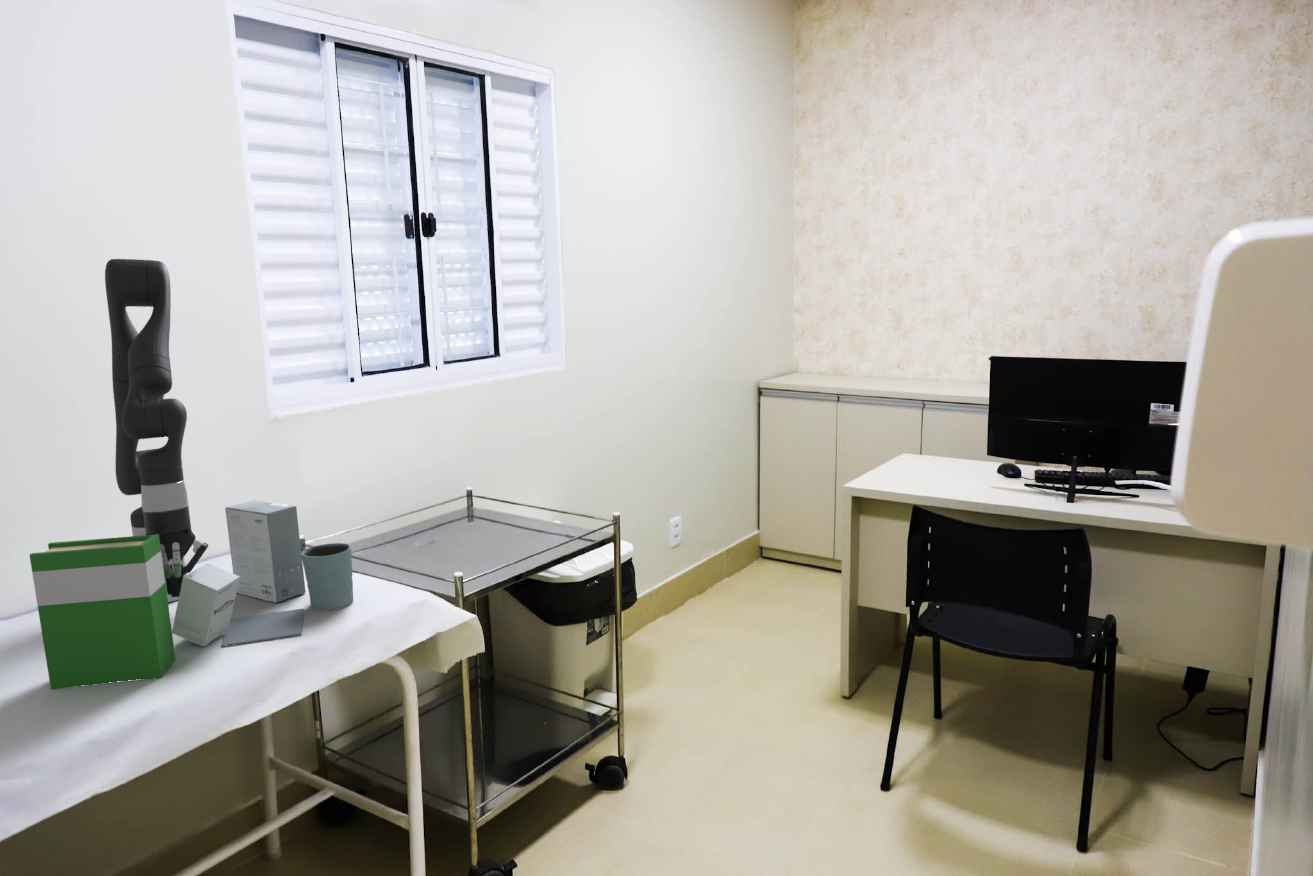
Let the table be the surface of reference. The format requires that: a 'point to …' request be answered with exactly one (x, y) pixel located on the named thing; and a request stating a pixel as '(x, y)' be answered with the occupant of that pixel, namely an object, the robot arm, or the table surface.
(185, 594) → the supplement box
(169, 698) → the table surface
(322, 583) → the blue-grey plant pot
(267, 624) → the mat
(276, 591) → the hard drive box
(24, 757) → the table surface
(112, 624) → the hardback book
